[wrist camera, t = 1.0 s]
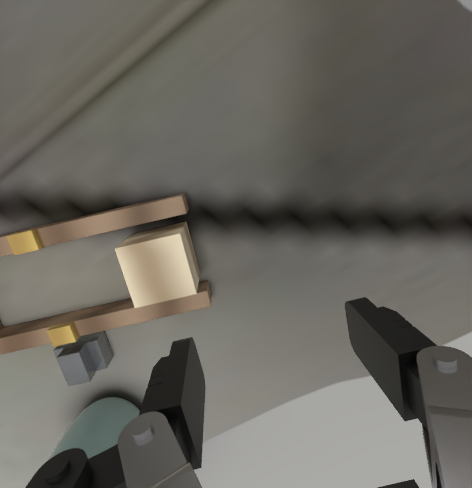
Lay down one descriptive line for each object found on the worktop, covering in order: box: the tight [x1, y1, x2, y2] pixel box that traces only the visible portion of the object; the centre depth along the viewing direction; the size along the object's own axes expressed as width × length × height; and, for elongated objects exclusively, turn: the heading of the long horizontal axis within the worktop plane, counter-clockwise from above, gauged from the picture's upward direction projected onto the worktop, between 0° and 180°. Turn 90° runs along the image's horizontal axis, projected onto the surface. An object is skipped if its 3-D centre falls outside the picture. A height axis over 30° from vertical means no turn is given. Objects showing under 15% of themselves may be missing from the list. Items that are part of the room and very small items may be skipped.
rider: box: [115, 222, 200, 308], centre depth 27 cm, size 5×5×5 cm
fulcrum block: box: [54, 331, 114, 386], centre depth 30 cm, size 4×3×4 cm
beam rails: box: [0, 193, 212, 355], centre depth 28 cm, size 22×10×3 cm, turn 103°
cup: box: [48, 397, 140, 460], centre depth 29 cm, size 8×8×10 cm
